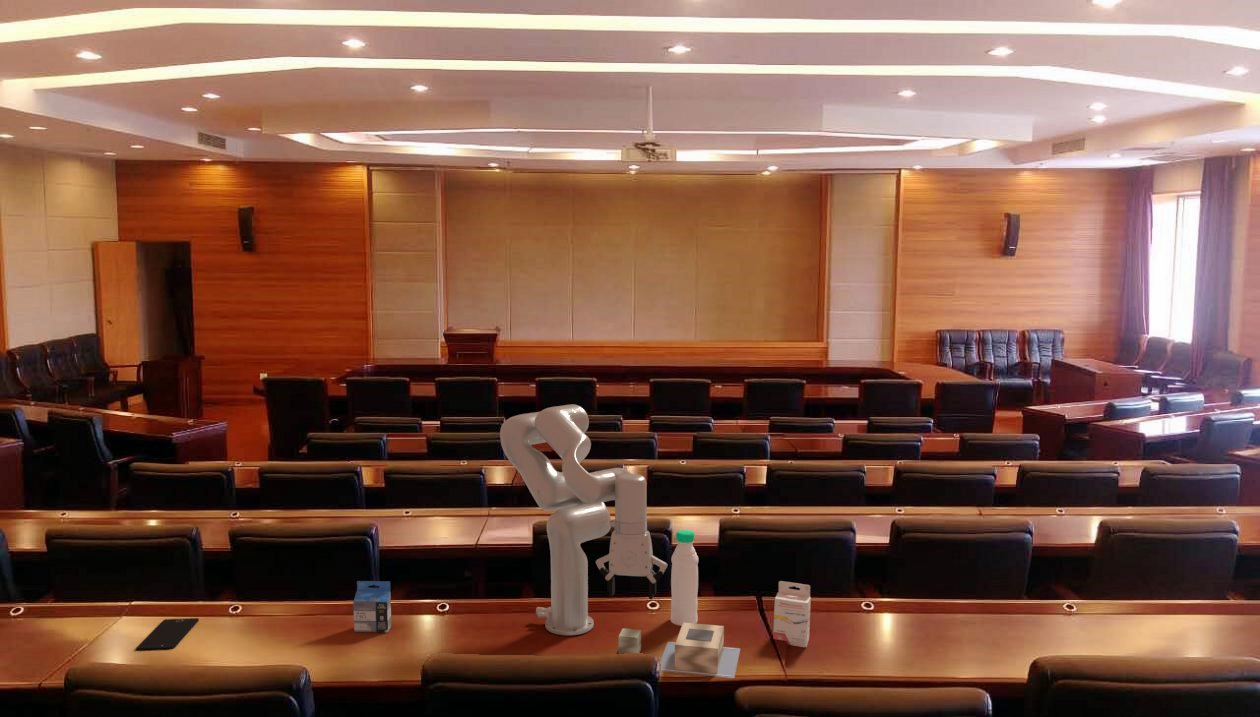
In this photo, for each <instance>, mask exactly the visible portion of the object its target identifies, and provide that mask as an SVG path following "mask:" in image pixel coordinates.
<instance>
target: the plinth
mask: <svg viewBox="0 0 1260 717" xmlns="http://www.w3.org/2000/svg"><path fill="white" fill-rule="evenodd" d="M724 634H725V625H716V624H707V623H706V624H705V623H696V624H695V623H684V622H683V624H682V626H681V627H680V630H679V633H678V634H677V638H676V641H675V642H676V643H675V669H677V670H687V671H697V672H708V673H718V670H719V666H720V661H721V657H722V653H723V647H725V646H724V643H725V642H724V640H725V635H724Z"/></svg>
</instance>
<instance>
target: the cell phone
mask: <svg viewBox="0 0 1260 717" xmlns="http://www.w3.org/2000/svg"><path fill="white" fill-rule="evenodd" d="M198 622H199V618H197V617H196V618H193V617H192V618H171V619H170V618H167V619H163V620H162V621H161V622H160V623H159V624H158V625H157V626H156V627H155V628H154V629H153V630H152V631H151V632H150V633H149V634H148V636H146V637H145V638H144V639H143V641H141V643H139V645H137V646H136V648H135V649H136V651H140V652H141V651H163V650H166V651H169V650H174V649H176V647H177V646H178V645H179V644H180V643H181V641H182V640H184V638H185V637H186V636H187V635H188V634H189V632H190V631H191V630H192V629H193V628H194V627H195V625H197V623H198Z"/></svg>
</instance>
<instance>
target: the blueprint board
mask: <svg viewBox="0 0 1260 717" xmlns="http://www.w3.org/2000/svg"><path fill="white" fill-rule="evenodd" d="M675 643H676V641H674V642H673V641H667V643H666V645H665V648H664V651H663V654H662V655H661V658H660V661H659V663H660V664H661V671H660V672H668V673H674V674H675V673H677V674H684V675H685V674H688V675H697V676H705V677H706V676H707V677H716V678H717V677H718V678H728V679H735V676H736V672H737V667H738V663H739V657H740V654H741V648H738V647H728V646H724V647H723V653H722V657H721V661H720V666H719V670H718V673H708V672H697V671H687V670H677V669H675Z"/></svg>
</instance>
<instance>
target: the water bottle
mask: <svg viewBox="0 0 1260 717" xmlns="http://www.w3.org/2000/svg"><path fill="white" fill-rule="evenodd" d="M675 539H676V543H677V546H676V547H675V548H674V551H673V553H672V555H671V559H670V560H671V563H672V564H671V573H670V574H671V575H670V576H671V577H670V587H671V590H670V591H671V599H670V608H671V609H670V610H671V612H670V622H671V623H672V624H674V625H675V626H676V625H677V626H681V627H682V624H683V622H684V623H695V624H698V606H699V605H698V604H699V603H698V601H699V600H698V592H699V590H698V589H699V566H698V564H699V556H698V555H697V552H696V549H695V547H694V546H693V543H694V542H695V533H694V531H692V530H689V529H681V530H678V531H677V532H676V534H675Z"/></svg>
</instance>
